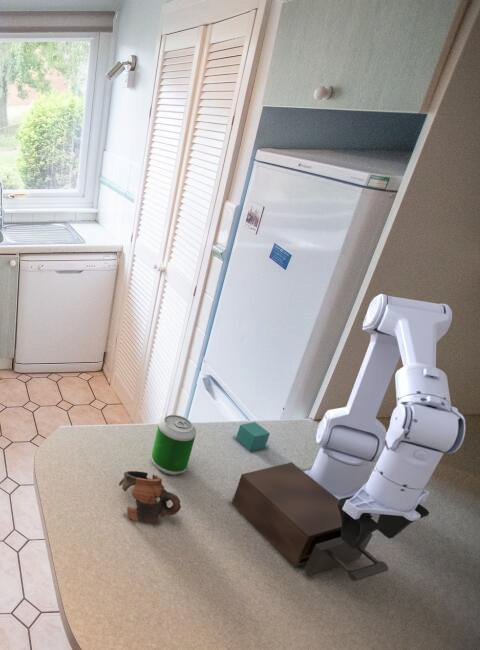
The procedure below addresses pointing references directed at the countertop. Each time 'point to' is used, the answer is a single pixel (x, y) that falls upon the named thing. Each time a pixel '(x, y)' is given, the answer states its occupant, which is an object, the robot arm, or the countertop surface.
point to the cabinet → (287, 508)
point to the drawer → (339, 556)
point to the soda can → (173, 444)
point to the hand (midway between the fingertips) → (366, 538)
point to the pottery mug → (148, 497)
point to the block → (252, 436)
